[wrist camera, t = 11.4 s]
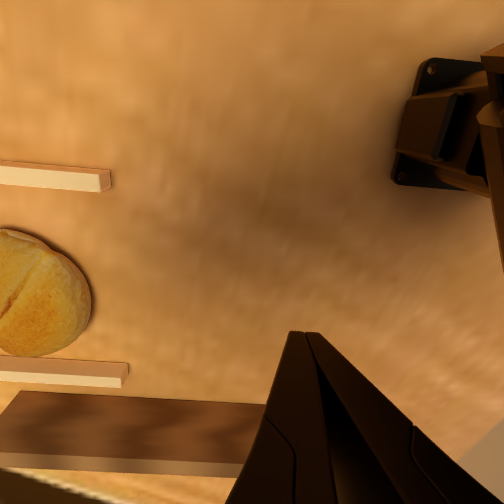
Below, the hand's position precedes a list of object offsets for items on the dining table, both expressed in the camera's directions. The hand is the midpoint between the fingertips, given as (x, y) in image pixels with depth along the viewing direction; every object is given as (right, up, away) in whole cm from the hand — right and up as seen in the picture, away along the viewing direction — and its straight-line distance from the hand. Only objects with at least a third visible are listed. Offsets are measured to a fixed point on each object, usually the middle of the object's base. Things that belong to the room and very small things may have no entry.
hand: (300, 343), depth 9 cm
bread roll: (-17, 0, +13) cm, 22 cm away
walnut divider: (-10, -10, +18) cm, 23 cm away
